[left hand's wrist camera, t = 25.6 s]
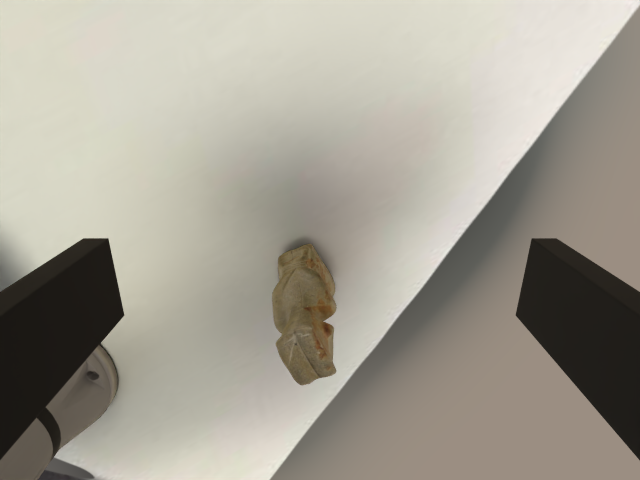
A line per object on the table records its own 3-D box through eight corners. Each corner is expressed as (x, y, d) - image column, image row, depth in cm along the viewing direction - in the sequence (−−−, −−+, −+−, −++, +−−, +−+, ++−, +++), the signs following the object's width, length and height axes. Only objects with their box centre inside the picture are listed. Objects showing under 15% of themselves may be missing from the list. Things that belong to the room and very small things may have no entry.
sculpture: (294, 302, 45) (282, 400, 31) (270, 248, 43) (246, 326, 29) (342, 287, 44) (353, 380, 30) (321, 230, 42) (321, 303, 28)
